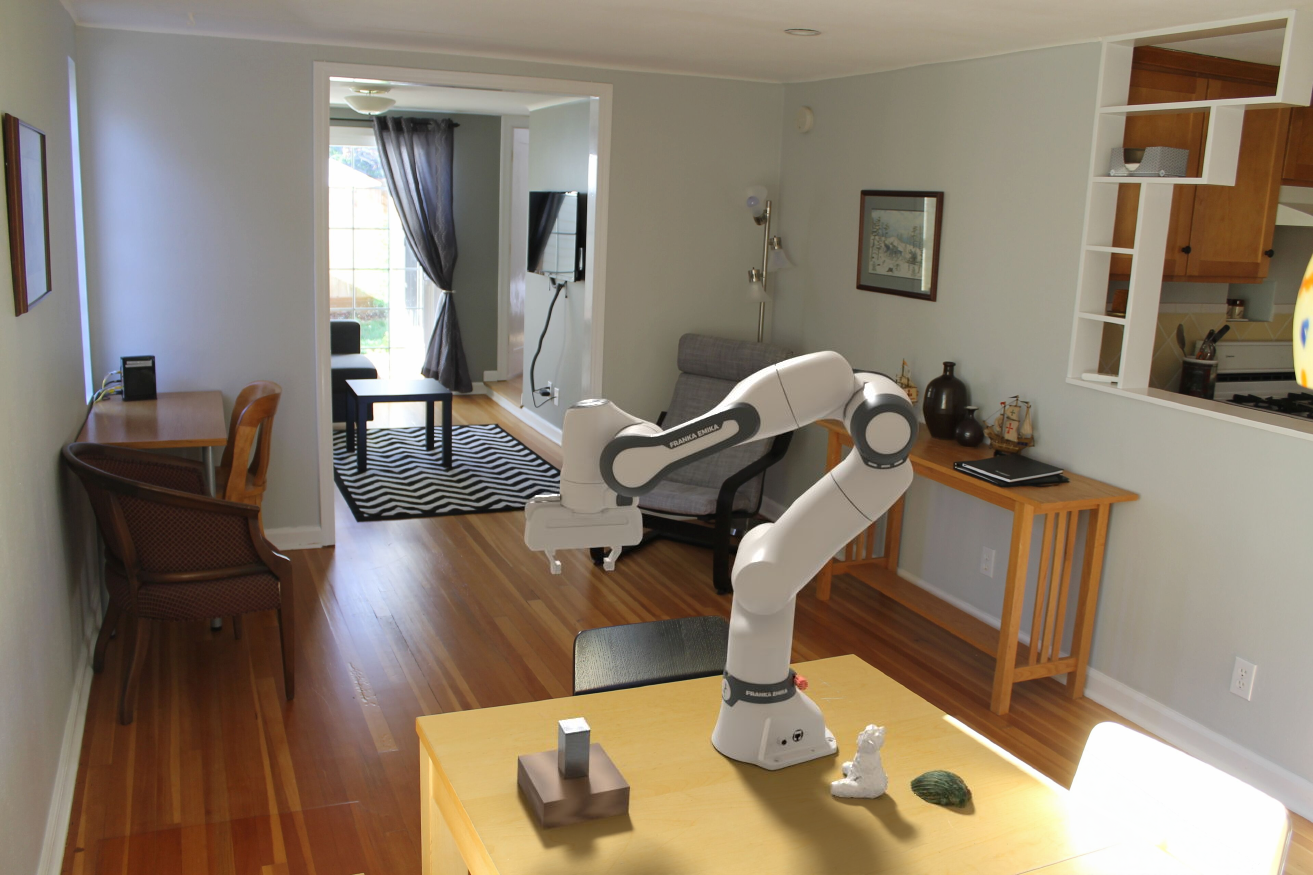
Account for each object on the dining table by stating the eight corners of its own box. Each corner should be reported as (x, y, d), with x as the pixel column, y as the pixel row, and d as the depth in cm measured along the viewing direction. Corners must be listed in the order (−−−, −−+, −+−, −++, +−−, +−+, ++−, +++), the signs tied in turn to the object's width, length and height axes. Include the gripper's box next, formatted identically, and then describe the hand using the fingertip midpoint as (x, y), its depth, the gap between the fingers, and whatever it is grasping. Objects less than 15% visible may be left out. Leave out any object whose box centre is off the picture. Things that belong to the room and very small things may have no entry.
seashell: (948, 750, 175) (987, 781, 166) (947, 771, 176) (985, 803, 167) (900, 763, 171) (936, 796, 162) (899, 784, 172) (935, 818, 163)
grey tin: (581, 762, 163) (583, 717, 161) (589, 775, 159) (590, 729, 158) (557, 766, 162) (558, 720, 160) (564, 779, 158) (565, 733, 156)
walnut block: (597, 769, 171) (598, 742, 170) (628, 814, 158) (630, 786, 157) (517, 783, 165) (517, 755, 164) (542, 832, 153) (543, 802, 151)
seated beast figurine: (843, 768, 174) (850, 705, 172) (893, 783, 171) (901, 718, 168) (828, 795, 166) (835, 728, 164) (879, 810, 163) (887, 743, 160)
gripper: (529, 501, 164) (526, 581, 167) (648, 496, 171) (643, 573, 174) (521, 490, 170) (519, 568, 173) (636, 486, 177) (632, 561, 180)
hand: (582, 570), depth 173 cm, fingers open, 8 cm apart
